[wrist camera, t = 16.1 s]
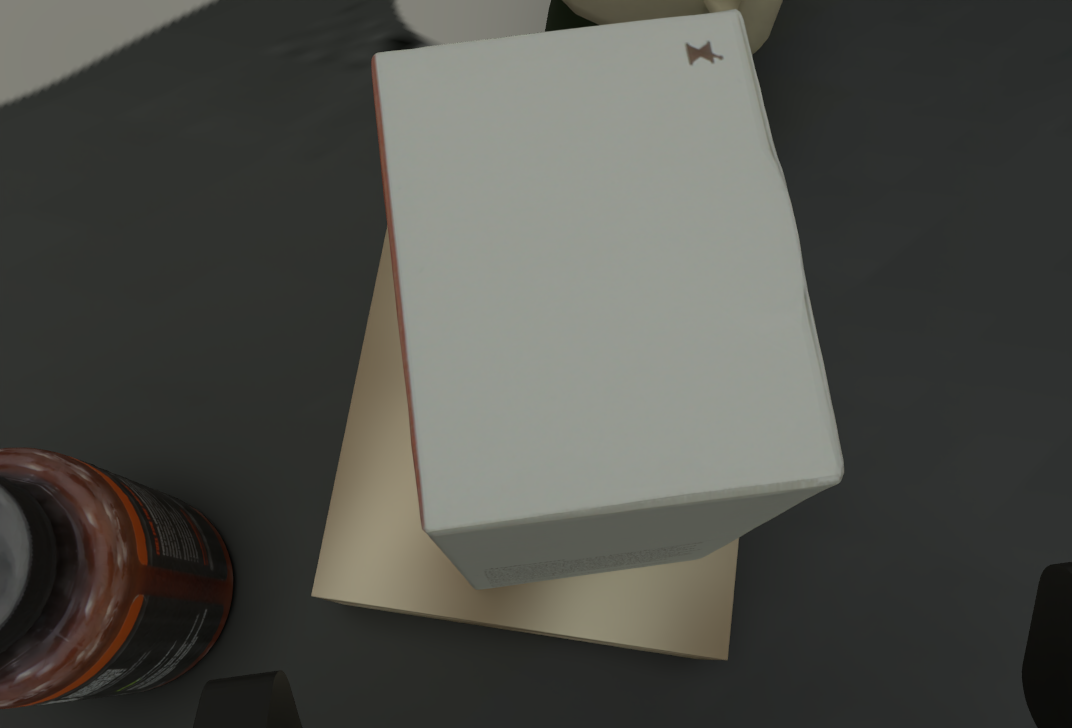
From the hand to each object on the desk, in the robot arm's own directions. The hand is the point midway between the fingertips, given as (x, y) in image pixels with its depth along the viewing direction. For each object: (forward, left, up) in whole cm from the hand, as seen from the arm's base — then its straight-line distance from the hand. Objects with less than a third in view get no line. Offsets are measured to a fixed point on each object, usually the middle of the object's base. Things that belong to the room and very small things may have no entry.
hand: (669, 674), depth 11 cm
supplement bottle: (-13, +4, -21) cm, 25 cm away
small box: (0, +6, -16) cm, 17 cm away
